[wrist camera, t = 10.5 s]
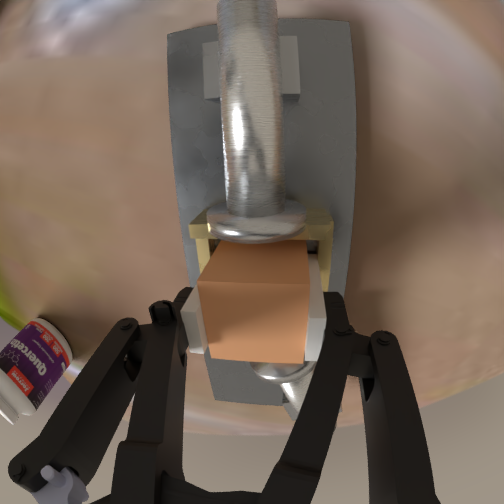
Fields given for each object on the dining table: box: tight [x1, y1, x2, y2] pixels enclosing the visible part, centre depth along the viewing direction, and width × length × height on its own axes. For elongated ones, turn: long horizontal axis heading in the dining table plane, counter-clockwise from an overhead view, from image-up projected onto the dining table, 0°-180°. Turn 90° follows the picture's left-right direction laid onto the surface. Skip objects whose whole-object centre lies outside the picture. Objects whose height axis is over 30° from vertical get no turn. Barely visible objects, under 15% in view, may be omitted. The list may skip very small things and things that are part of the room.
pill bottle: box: [0, 318, 72, 425], centre depth 23 cm, size 8×8×14 cm
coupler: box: [197, 240, 310, 364], centre depth 16 cm, size 5×5×6 cm
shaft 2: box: [249, 352, 342, 431], centre depth 19 cm, size 11×5×6 cm, turn 22°
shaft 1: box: [202, 0, 306, 244], centre depth 12 cm, size 11×5×6 cm, turn 2°
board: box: [167, 19, 356, 406], centre depth 18 cm, size 32×11×4 cm, turn 2°
